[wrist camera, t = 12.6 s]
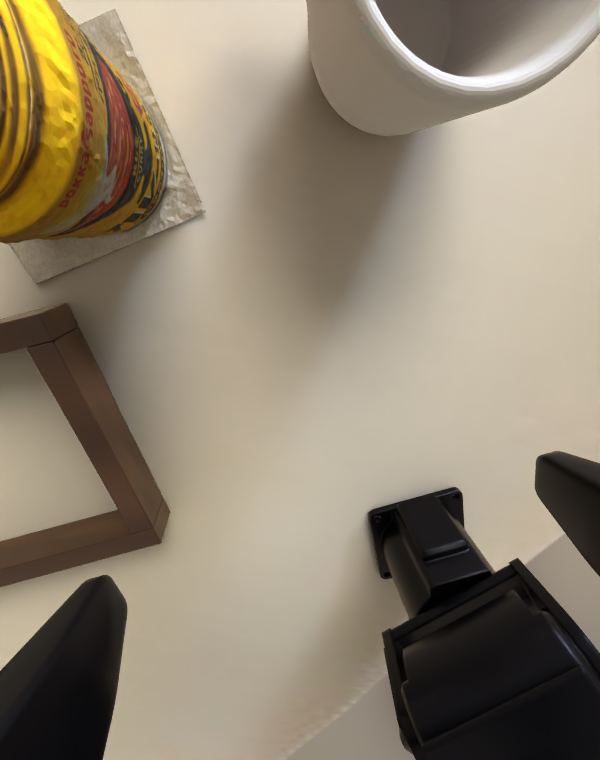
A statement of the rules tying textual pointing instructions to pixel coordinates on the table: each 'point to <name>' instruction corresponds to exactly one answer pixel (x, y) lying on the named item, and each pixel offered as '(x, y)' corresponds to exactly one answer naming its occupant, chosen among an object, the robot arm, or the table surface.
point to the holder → (102, 444)
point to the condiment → (80, 142)
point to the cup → (440, 55)
